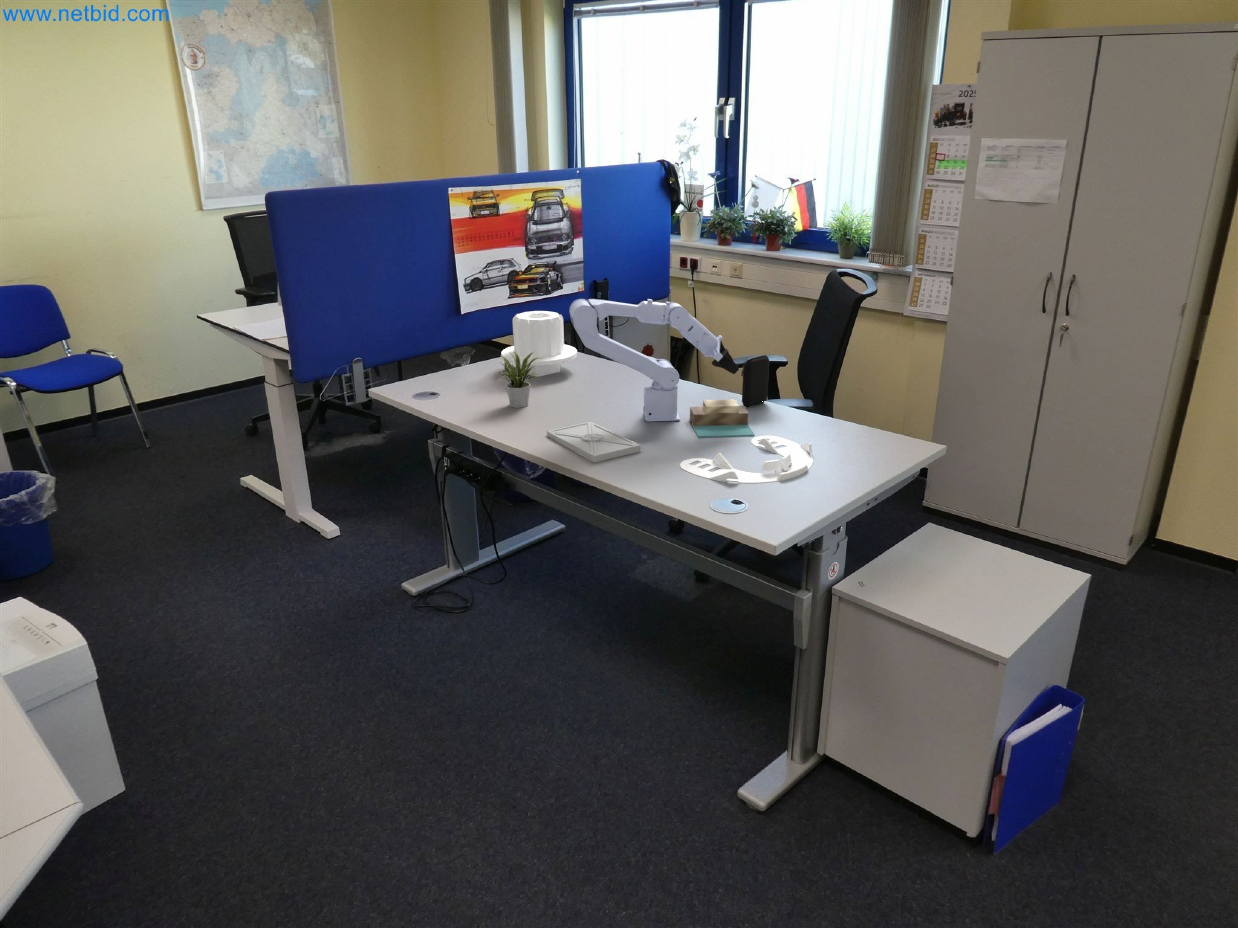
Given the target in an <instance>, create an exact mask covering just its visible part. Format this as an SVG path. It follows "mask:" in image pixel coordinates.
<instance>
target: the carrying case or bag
mask: <svg viewBox="0 0 1238 928" xmlns="http://www.w3.org/2000/svg"><path fill="white" fill-rule="evenodd" d="M741 369H742V370H741V374H740V376H741V377H742V387H741V388H742V389H741V403H742V405H743V406H744V407H745V409H746V408H747V409H748V408H752V407H755V406H760V405H763V404H764V403H765V402H766V401H767V400H768V395H769V394H768V391H769V379H770V378H769V377H770V359H769V357H768V356H767V355H766V354H762V355H761V354H760V355H757V356H753V357H749V358H747V359H746V360H745V361H744V363H743V365H742V368H741ZM762 401H763V402H762ZM764 401H765V402H764Z"/></svg>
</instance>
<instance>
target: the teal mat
mask: <svg viewBox="0 0 1238 928" xmlns="http://www.w3.org/2000/svg"><path fill="white" fill-rule="evenodd" d="M693 430H694V431H695V435H696V436H697V438H726V437H730V438H731V437H735V438H736V437H755V433H754V430H752V428H751V426H750V424H748V425H717V426H694V427H693Z"/></svg>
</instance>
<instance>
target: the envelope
mask: <svg viewBox="0 0 1238 928" xmlns="http://www.w3.org/2000/svg"><path fill="white" fill-rule="evenodd" d="M546 436H547V437H549V438H551V439H553V440H554V441H556V442H558V443H559V444H561V445H563V446H565V447H566V448H568V449H570V451H571V450H572V451H573V452H575V451H576V452H577V454H578V453H579V454H578V455H580V454H581V455H580V456H582V457H583V456H584V457H583V458H585V457H586V458H585V459H587V460H588V461H590V462H592V463H598V462H599V463H600V462H603V461H607V460H610V459H614V458H620V457H623V456H627V455H630V454H635V453H639V452H640V453H641V444H640V443H637V442H636V441H633V440H630V439H629V438H627V437H624V436H622V435H621V434H618V433H616V432H615V431H614V432H613V431H612V430H610V429H608V428H606V427H603V426H601V425H599V424H598V423H594V422H592V421H587V422H586V421H585V422H581V423H578V424H577V423H576V424H572V425H568V426H564V427H559V428H555V429H551V430H546ZM576 452H575V453H576Z"/></svg>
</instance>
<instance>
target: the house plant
mask: <svg viewBox="0 0 1238 928" xmlns="http://www.w3.org/2000/svg"><path fill="white" fill-rule="evenodd" d="M508 352H509V351H508ZM509 353H510V352H509ZM533 353H535V352H532V353H530V354H529V355H528V356H527V357H526V358H525V359H524V360H523V363H522V368H520V359H519V356H518V355H517V353H516V352H514V354H515V357H516V359H515V357H514V356H513V355H512V354H511V353H510V354H511V355H512V356H513V358H514V360H515V363H516V364H515V363H514V364H515V367H514V364H512V363H510V362H509V361H508V360H507V359H506V358H504V357H503V356H501V355H499V356H500V357H501V359H502V358H503V359H504V360H503V359H502V360H503V361H504V364H503V363H502V362H500V363H501V365H502V366H503V367H504V370H503V371H502V372H501V371H500V372H499V371H498V373H499V374H501V375H503V376H505V377H507V378H505V377H500V378H499V380H506V381H507V382H508V383H506V384H505V387H506V392H507V396H508V399H509V405H510V407H512V408H515V409H516V408H517V409H518V408H526V407H528V406H529V399H530V390H531V383H530V382H528V381H526V380H529V379H534V380H536V379H535V378H536V377H534V376H532V375H537V374H536V373H532V374H528V373H529V371H530V370H531V369H532V368H533V367H535V366H533V367H531V368H529V366H530V364H531V363H532V362H533V361H534V360H536V359H540V358H534V359H532V360H531V361H530V363H528V364H527V362H528V361H529V360H528V359H529V357H530V356H531V355H532V354H533ZM527 360H528V361H527ZM526 367H527V369H526ZM528 368H529V369H528ZM515 369H516V370H515ZM525 369H526V370H525ZM527 370H528V371H527ZM505 372H506V373H505ZM508 378H509V379H508Z"/></svg>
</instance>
